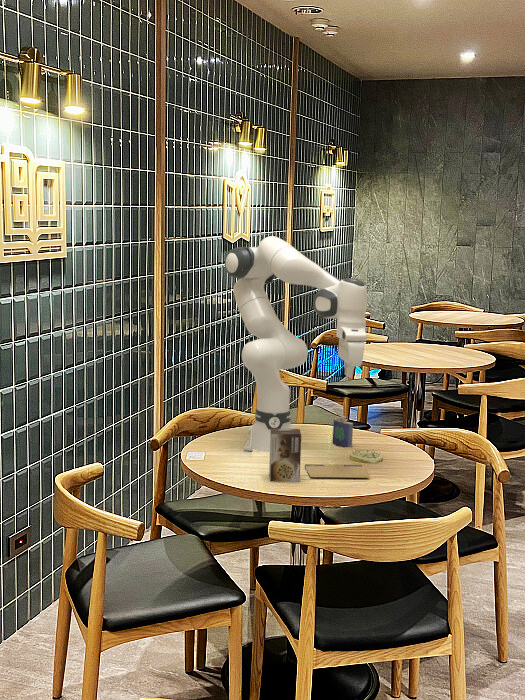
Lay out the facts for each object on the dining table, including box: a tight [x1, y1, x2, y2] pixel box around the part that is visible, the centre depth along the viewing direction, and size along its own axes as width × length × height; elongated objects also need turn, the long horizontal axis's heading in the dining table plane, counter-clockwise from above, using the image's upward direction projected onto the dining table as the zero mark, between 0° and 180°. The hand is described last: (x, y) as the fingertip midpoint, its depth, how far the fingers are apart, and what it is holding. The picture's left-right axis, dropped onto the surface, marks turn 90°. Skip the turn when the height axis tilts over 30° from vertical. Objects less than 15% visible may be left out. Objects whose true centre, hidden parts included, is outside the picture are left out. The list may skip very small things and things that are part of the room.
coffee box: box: [268, 428, 302, 483], centre depth 248 cm, size 9×6×16 cm
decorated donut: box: [349, 449, 384, 464], centre depth 275 cm, size 10×11×4 cm
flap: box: [305, 464, 371, 479], centre depth 257 cm, size 13×18×2 cm
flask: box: [331, 415, 354, 448], centre depth 296 cm, size 9×3×11 cm, turn 37°
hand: (348, 376), depth 257 cm, fingers closed
